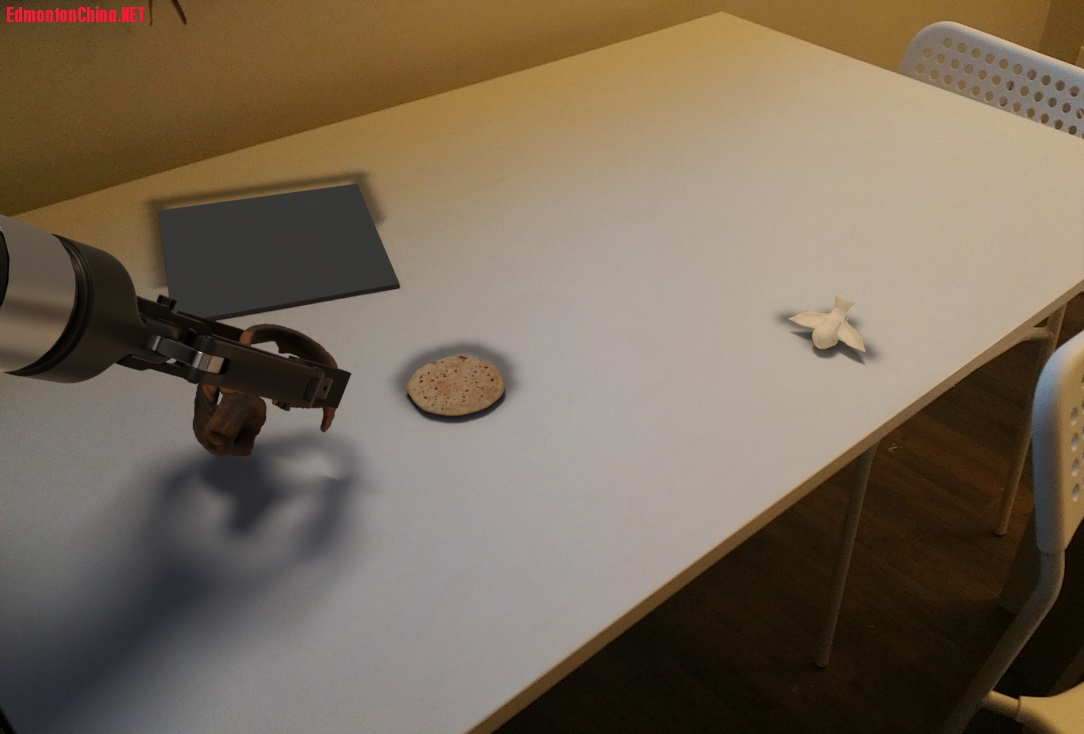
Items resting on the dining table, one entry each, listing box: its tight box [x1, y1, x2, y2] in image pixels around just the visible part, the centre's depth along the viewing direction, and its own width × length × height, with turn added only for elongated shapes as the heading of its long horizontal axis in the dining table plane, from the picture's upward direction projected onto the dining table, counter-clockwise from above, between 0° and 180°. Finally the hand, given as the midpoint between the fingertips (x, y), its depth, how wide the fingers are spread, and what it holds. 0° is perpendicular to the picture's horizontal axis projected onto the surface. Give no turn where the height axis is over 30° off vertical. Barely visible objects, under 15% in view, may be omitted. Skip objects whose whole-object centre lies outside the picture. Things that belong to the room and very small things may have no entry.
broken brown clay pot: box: [192, 323, 339, 458], centre depth 70 cm, size 12×10×8 cm
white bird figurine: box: [788, 295, 866, 353], centre depth 92 cm, size 8×5×5 cm, turn 57°
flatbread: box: [404, 354, 505, 417], centre depth 83 cm, size 8×8×1 cm
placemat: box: [157, 183, 401, 321], centre depth 97 cm, size 20×20×1 cm
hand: (287, 367), depth 71 cm, fingers closed on broken brown clay pot, 9 cm apart
